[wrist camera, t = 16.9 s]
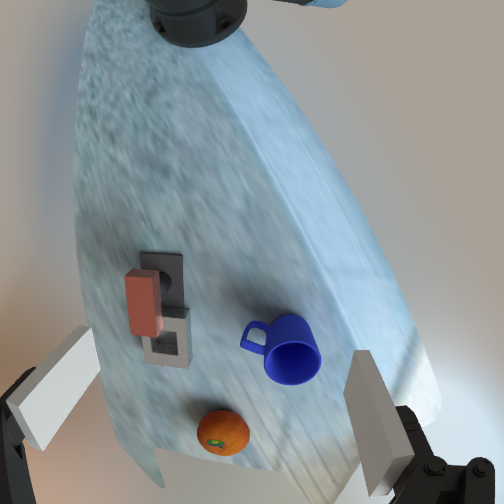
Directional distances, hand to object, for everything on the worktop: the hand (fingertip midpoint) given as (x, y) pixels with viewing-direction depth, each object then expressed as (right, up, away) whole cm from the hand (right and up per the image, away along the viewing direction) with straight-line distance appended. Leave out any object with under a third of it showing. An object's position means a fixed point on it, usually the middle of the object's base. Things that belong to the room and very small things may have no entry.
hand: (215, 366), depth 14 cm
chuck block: (-13, -9, +39) cm, 42 cm away
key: (-13, +1, +36) cm, 38 cm away
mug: (+6, -7, +38) cm, 39 cm away
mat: (-13, +1, +37) cm, 39 cm away
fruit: (-4, -29, +45) cm, 54 cm away
